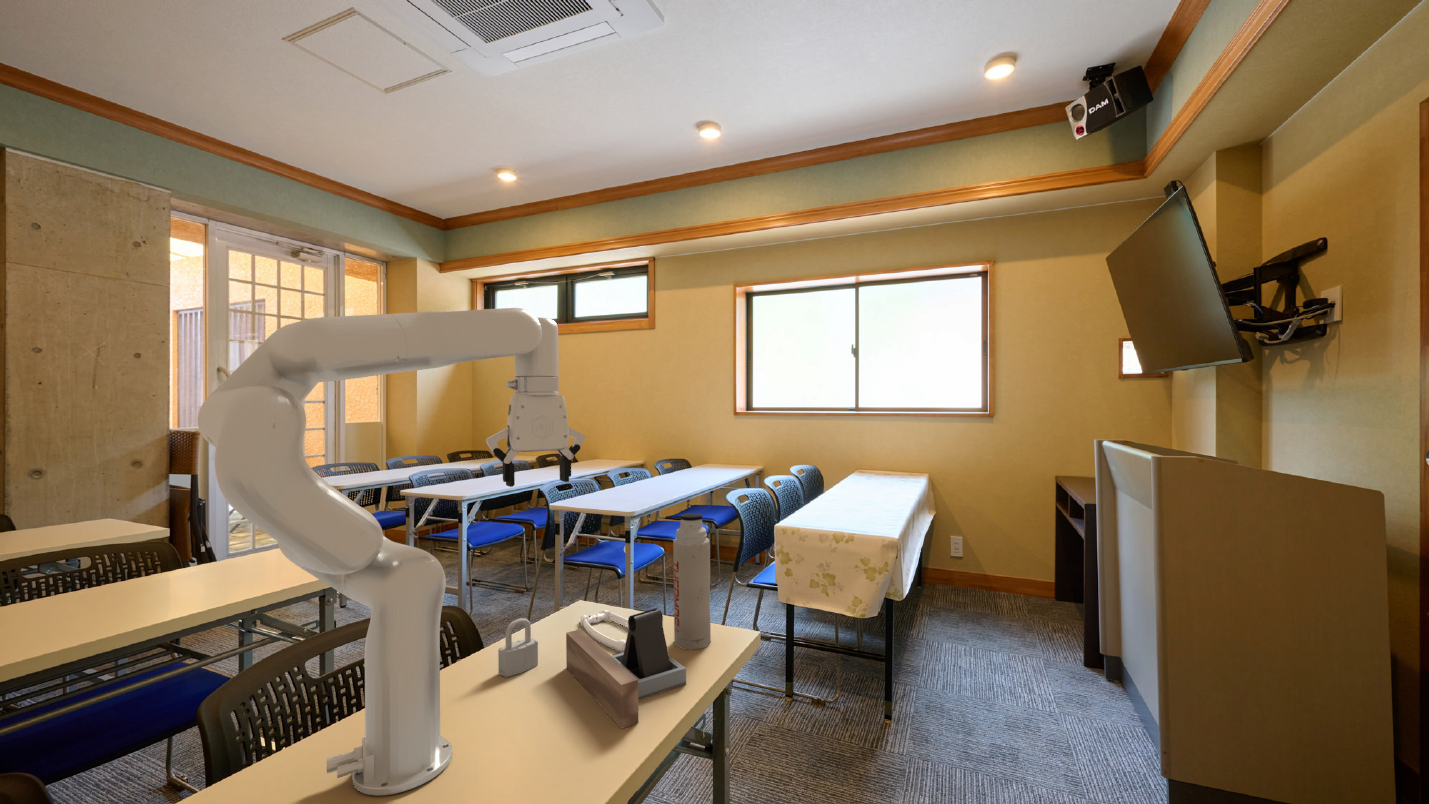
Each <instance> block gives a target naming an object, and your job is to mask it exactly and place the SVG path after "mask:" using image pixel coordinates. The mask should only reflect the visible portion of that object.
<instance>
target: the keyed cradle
mask: <svg viewBox="0 0 1429 804" xmlns="http://www.w3.org/2000/svg"><path fill="white" fill-rule="evenodd" d="M623 654H624V653H621V652H619V653H617V654H613V655H611V656H612V657H613V658H614V659H615V660H616V661H617V662H618V663H620V664H621V665H622V666H623V667H624V668H625V669H626V670H628V669H627V668H626V667H625V666H624V665H623V664H622V659H623ZM669 660H670V665H671V670H669V671H666V672H663V673H659V674H656V675H653V676H650V677H646V678H643V679H639V678H638V677H636V676H635V675H634V674H633V673H632V672H631V671H630V670H628V671H629V672H630V673H631V674H632V675H633V676H634V677H635V678H637V679H638V701H639V700H644V699H647V698H648V697H649V698H650V697H652V696H654V695H658V694H661V693H664V692H667V691H669V690H670V691H671V690H673V689H677V688H679V687H682V686H685V685H687V668H686V667H685V666H684V665H682V664H681V663H679V662H678V661H677V660H675V659H674V657H673V658H672V657H671V656H670V655H669Z"/></svg>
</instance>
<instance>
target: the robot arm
mask: <svg viewBox="0 0 1429 804" xmlns="http://www.w3.org/2000/svg"><path fill="white" fill-rule="evenodd" d="M503 357H505V358H506V357H513V358H514V377H513V379H511V380H507V381H505V382H506V383H505V384H506V389H511V390H513V393H514V395H513V394H512V395H510V399H509V405H508V411H507V412H508V413H507V420H506V421H507V423H506V427H505V428H504V429H502V430H499V431H497V432H496V433H494V434H492V435H490V436H489V437H487V438H485V443H486V444H487V446H488V448H489V449H490V451H491V454H492V455H493V456H495V458H497V459H498V460H499V461H500V463H502V482H504V483H505V485H506V486H507V487H510V488H511V487H514V486H515V484H516V483H515V479H516V478H515V464H514V462H513V460H514V458H515V457H516V456H517V455H518V454H519V453H531V452H532V453H535V452H553V451H556V452H558V454H559V455H560V457H561V458H560V459H559V480H560V481H561V482H564V483H569V482H570V477H572V460H573V459H574V457H575V456H576V454H577V453H578V452H579V451H581V446H582V445H583V443H584V441H585V439H586V435H585V434H583V433H581V432H579V431H577V430H575V429H574V428H571V427H570V426H569V420H568V419H569V418H568V411H567V405H566V400H565V397H564V395H563V394H562V395H561V394H560V393H559V392H560V389H559V388H560V387H559V385H560V383H559V382H560V381H559V380H560V378H559V377H560V376H559V371H560V369H559V367H560V366H559V327H558V324H557V322H556V321H555V320H553V319H551V318H547V317H537V316H536V315H535V314H533V313H532V312H531V311H530V310H527V309H525V308H522V307H508V308H507V307H505V308H503V307H502V308H484V309H470V310H469V309H468V310H467V309H466V310H455V311H454V310H453V311H421V312H420V311H419V312H400V313H384V314H382V313H381V314H364V315H363V314H362V315H361V314H360V315H344V316H343V315H342V316H341V315H340V316H322V317H313V318H308V319H303V320H300V321H296V322H292V323H288V324H285V325H283V326H282V327H279V328H278V329H276V330H275V331H274V332H273V333H271V334H270V335H269V336H268V337H267V338H266V339H265V340H264V341H262V343H261V344H260V345H259V346H258V347H257V348H256V349H255V350H253V352H252V353H251V354H250V355H249V356H248V357H247V358H245V360H244V361H243V362H242V363H241V364H240V365H239V366H238V367H237V368H236V369H235V370H234V371H233V372H232V373H231V374H230V375H228V376H227V377H226V378H225V379H224V381H223V382H222V383H220V384H219V385H218V386H217V387H216V388H215V389H214V390H213V391H212V392H211V393H210V394H209V395H208V397H206V399H205V400H204V401H203V403H202V404H201V406H200V408H199V410H198V414H197V421H196V422H197V427H198V430H199V433H200V434H201V436H202V437H203V439H204V440H205V441H206V442H207V443H208V444H210V445H212V446H213V447H214V448H215V451H214V470H215V477H216V481H217V484H218V485H217V486H218V487H219V489H220V492H221V494H222V496H223V498H224V499H225V500H226V502H227V503H228V504H229V505H230V506H231V508H233V510H235V512H236V513H238V514H239V515H240V516H242V517H243V518H244V519H245V520H247V521H248V522H250V523H252V524H253V525H254V526H255V527H257V528H258V529H260V530H261V531H262V532H264V533H265V534H266V535H268V536H269V537H271V538H272V539H274V540H275V541H276V542H277V545H278V548H279V551H280V552H281V553H282V555H283V556H284V557H285V558H286V559H288V560H289V561H290V562H291V563H293V564H294V565H295V566H297V567H299V568H301V569H302V570H304V571H305V572H307V573H308V574H310V575H311V576H313V577H315V578H316V579H318V580H320V581H321V582H323V583H324V584H326V585H327V586H329V587H331V588H332V589H334V590H335V591H337V592H339V593H340V594H342V595H343V596H345V597H347V598H348V599H350V600H352V601H355V602H357V603H358V604H361V605H363V606H366V607H367V608H368V609H370V621H369V625H368V629H367V632H366V637H365V643H364V714H365V715H364V722H365V723H364V724H365V725H364V726H365V728H364V729H365V730H364V731H365V733H364V736H365V737H362V738H361V745H359V746H356V747H354V748H353V750H352V751H348V752H345V753H340V754H336V755H333V756H330V757H327V758H326V774H330V773H334V772H336V779H340V778H342V777H346V776H349V775H351V774H352V779H351V780H353V781H352V786H353V785H354V786H353V788H354V789H355V788H356V789H357V791H358V792H359V791H360V793H361V792H362V794H364V795H368V796H388V795H395V794H400V793H403V792H407V791H409V790H412V789H416V788H417V787H419V786H422V785H424V784H426V783H428V782H429V781H431V780H432V779H434V778H435V777H437V776H438V775H439V774H440V773H442V772H443V771H444V770H445V769H446V768H447V767H448V765H449V763H450V762H451V760H452V757H453V745H452V743H451V741H449V740H448V739H447V738H446V737H443V736H441V668H440V667H441V664H440V663H441V661H440V660H441V659H440V658H441V654H440V653H441V652H440V646H441V645H440V644H441V642H440V640H441V639H440V638H441V637H440V635H441V633H440V631H441V630H440V629H441V616H442V615H441V614H442V608H443V603H444V599H445V594H446V593H445V592H446V586H447V585H446V583H447V582H446V574H445V570H444V568H443V566H442V564H441V562H440V561H439V560H438V558H436V557H435V556H434V555H433V554H431V553H429V552H428V551H426V550H424V549H422V548H418V547H415V546H412V545H411V546H410V545H408V544H402V543H399V542H396V541H393V540H390V539H389V538H387V537H386V536H385V535H384V533H383V528H382V526H381V524H380V523H379V521H378V520H377V518H376V517H375V516H374V515H373V514H372V513H371V512H369V510H367V509H365V508H364V507H362V506H360V505H359V504H358V503H356V502H354V500H352V499H350V498H349V497H348V496H347V495H345V494H344V493H342V492H341V491H339V490H338V489H336V487H334V486H333V485H331V484H329V483H328V481H326V480H325V479H324V478H323V477H322V476H320V475H319V474H318V473H317V472H316V471H314V470H313V468H311V467H310V466H309V464H308V462H307V461H306V460H307V459H305V455H304V451H303V442H304V436H305V432H306V427H307V416H306V414H307V413H306V411H305V408H304V406H303V405H302V402H303V401H304V400H305V399H306V398H307V397H308V396H309V395H310V393H311V392H312V391H313V389H315V387H316V386H317V385H318V383H325V382H336V381H345V380H353V379H361V378H368V377H376V376H383V375H384V376H385V375H390V374H391V375H392V374H399V373H406V372H407V373H408V372H417V371H423V370H430V369H431V370H432V369H438V368H442V367H449V366H452V365H455V364H460V363H466V362H473V361H480V360H488V359H496V358H503ZM570 437H571V438H573V440H574V441H573V443H572V445H570ZM505 438H506V446H507V449H506V450H505V451H503V450H502V449H501V448H500V447H499V445H498V442H500V441H501V440H503V439H505ZM569 445H570V446H569ZM356 789H355V790H356Z"/></svg>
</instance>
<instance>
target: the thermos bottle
mask: <svg viewBox="0 0 1429 804" xmlns="http://www.w3.org/2000/svg"><path fill="white" fill-rule="evenodd" d="M703 517H704V516H703V514H702V513H696V512H695V513H694V512H693V513H692V512H689V513H683V514H681V515H680V517H679V518H680V521H679V524H680V525H679V528H677V529H676V533H675V535H676V536H675V537H676V538H674V539H673V542H672V543H673V544H672V546H673V547H672V548H673V619H674V620H673V629H674V630H673V631H674V632H673V635H674V636H673V637H674V645H675V644H676V645H675V646H676V647H678V646H679V647H681V648H680V649H683V648H684V649H683V650H690V649H692V650H699V648H701V649H704V648H706V647H707V646H709V645H710V644H711V643H712V642H711V641H712V639H711V638H712V637H711V635H712V634H711V630H712V629H711V627H712V626H711V571H710V570H711V559H710V558H711V557H710V556H711V555H710V547H711V546H710V539H709V538H708V537H707V536H708V533H707V529H706V528H705V527H704V526H703V520H702V519H703ZM705 646H706V647H705ZM679 647H678V648H679ZM703 647H704V648H703Z"/></svg>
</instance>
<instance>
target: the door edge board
mask: <svg viewBox="0 0 1429 804" xmlns="http://www.w3.org/2000/svg"><path fill="white" fill-rule="evenodd" d="M565 634H566V636H565V638H566V639H565V645H566V648H565V649H566V650H565V652H566V653H565V654H566V655H565V656H566V662H565V663H566V669H567V670H568V671H569V673H571V675H572V676H573V677H574V678H575V679H576V680H577V681H578V682H579V684H580V685H582V686H583V688H584V689H585V690H586V691H587V692H588V693H589V694H590V695H591V696H592V698H593V699H594V700H595V701H596V702H597V703H598V704H599V706H600V707H601V708H602V709H603V710H604V711H605V712H606V713H607V714H608V715H609V717H610V718H612V720H613V721H614V722H615V723H616V724H617V725H618V726H619V727H620V729H624V728H627V727H630V726H633V725H635V724H638V723H639V700H638V679H637V678H635V677H634V676H633V675H632V674H631V673H630V672H629V671H628V670H626V669H625V668H624V667H623V666H622V665H621V664H620V663H618V662H617V661H616V660H615V659H614V658H613V657H612V656H613V655H612V654H609V652H607V651H606V650H605V649H604V648H603V647H601V646H600V644H598V643H597V642H596V640H595V639H592V638H591V637H590V636H589V634H588V633H586V632H585V631H583V630H582V629H580V628H579V629H576V630H572V631H567V632H566V633H565Z"/></svg>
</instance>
